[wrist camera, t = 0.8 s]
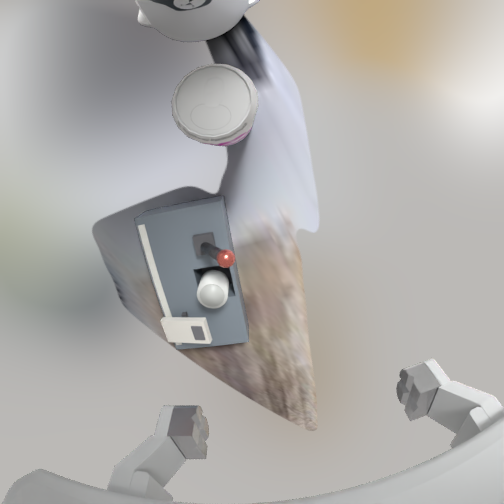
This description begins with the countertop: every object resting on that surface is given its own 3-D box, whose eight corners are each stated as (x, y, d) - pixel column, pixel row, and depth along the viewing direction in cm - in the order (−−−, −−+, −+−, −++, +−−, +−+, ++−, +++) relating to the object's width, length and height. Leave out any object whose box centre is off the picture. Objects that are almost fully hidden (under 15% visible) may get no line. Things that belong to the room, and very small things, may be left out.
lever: (194, 241, 35) (219, 255, 29) (209, 236, 36) (236, 249, 30) (198, 256, 36) (223, 272, 30) (212, 251, 37) (239, 266, 30)
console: (145, 210, 40) (131, 220, 35) (223, 195, 40) (219, 203, 34) (181, 331, 48) (175, 353, 42) (248, 323, 48) (249, 345, 42)
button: (197, 272, 39) (193, 284, 35) (225, 267, 39) (224, 279, 35) (204, 297, 40) (200, 311, 37) (231, 293, 40) (230, 307, 36)
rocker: (163, 316, 40) (159, 321, 39) (205, 317, 39) (203, 322, 38) (170, 338, 42) (167, 342, 41) (212, 339, 40) (209, 344, 39)
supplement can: (250, 148, 38) (253, 147, 24) (192, 144, 37) (162, 141, 23) (256, 93, 35) (263, 63, 21) (198, 89, 35) (173, 58, 21)
